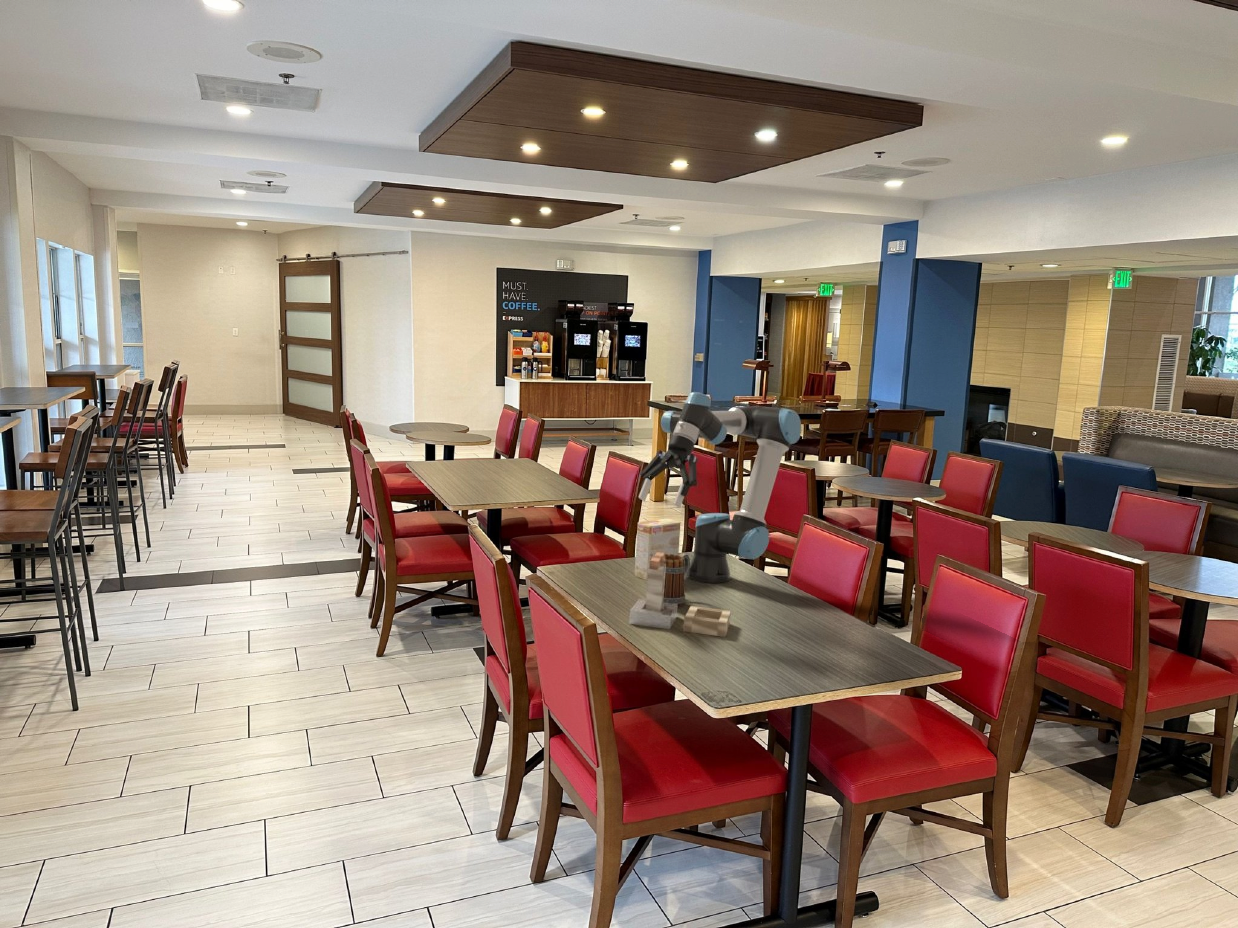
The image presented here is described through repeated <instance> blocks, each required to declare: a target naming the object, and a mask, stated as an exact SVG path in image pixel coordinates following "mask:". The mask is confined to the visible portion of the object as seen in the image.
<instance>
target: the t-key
mask: <svg viewBox="0 0 1238 928" xmlns="http://www.w3.org/2000/svg"><path fill="white" fill-rule="evenodd" d="M665 554H666V553H665V552H657V553H656V554H655V555H654V556H653V558H652V559H651V560H650V564H649V565H648V579H647V580H646V581H647V582H646V597H645V600H646V610H653V611H661V612H663V599H664V585H665V571H666V564H665V563H663V562H664V561H665Z"/></svg>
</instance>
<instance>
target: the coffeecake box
mask: <svg viewBox="0 0 1238 928" xmlns="http://www.w3.org/2000/svg"><path fill="white" fill-rule="evenodd" d="M681 523H682V522H680V521H678V520H674V519H671V518H662V519H655V520H650V521H649V520H647V521H639V522H637V526H636V527H637V528H636V532H637V533H636V546H635V547H636V549H635V563H634V577H637V578H640V579H642V580H644V581H647V579H648V565H649V564H650V560H651V559H652V558H653V556H654V555H655V554H656V553H657V552H665V553H666V554H668V555H670V554H674V555H680V554H679V553H680V552H679V550H680V538H681V537H680V535H681Z"/></svg>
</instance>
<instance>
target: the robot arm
mask: <svg viewBox="0 0 1238 928" xmlns="http://www.w3.org/2000/svg"><path fill="white" fill-rule="evenodd" d="M711 404H712V401H711V398H710V397H709V396H708V395H706V394H704V393H702V392H699V391H698V392H697V391H692V392H690V393H689V394H688V396H687V397H686V400H685V402H684V404H683V408H682V410H681V411H677V410H667V411H665V412H664V413H663V414H662V416H661V419H660V420H661V421H660V426H661V429H662V431H663V432H665V433H667V434H670V435H672V436H671V437H670V439H669V442H668V445H667V450H666V452H664V451H663V450H661V449H658V450H657V453H656V454H655V456H654V457H653V458H652V459H651V460H650V462H648V464H647V465H646V466H645V467H644V469H643V470H642V471H641V472H640V477H642V478H643V481H642V483H641V485H640V488H641V490H640V492H639V494H638V498H639V500H642V501H643V502H646V499H647V497H648V494H649V492H650V490H651V487H652V485H653V481H652V480H653V479H655V478H656V477H657V476H659V475H660V474H661V473H663V472H664V471H665V470H666V469H667V470H668V469H669V468H671V469H679V473H680V474H681V477H682V483H680V486H679V488H678V491H677V493H676V496H675V498H674V501H673V504H674V506H676V507H677V508H681V506H682V504H683V501H684V499H685V497H687V495H688V493H689V490H690V488H691V487H697V485H698V475H697V473H698V471H697V462H698V457H697V456H696V455H694V453H693V451H694V448H695V444H696V443H697V440H698V438H699V439H704V440H705V442H707V443H709V444H710V445H719V444H721V443H722V442H724V440H725V439H726V436H727V434H728V433H729V434H731V435H733V436H736V435H738V436H744V437H749V438H753V439H756V443H757V445H758V450H757V452H756V456H755V460H754V462H753V466H752V468H751V473H750V476H749V478H748V479H749V480H748V482H747V486H746V488H745V492H744V496H743V498H742V502H741V505H740V508H739V510H738V511H737V512H735V513H734V514H733V517H732V518H731V517H730V516H731V515H730V514H729V513H723V512H722V513H721V512H711V513H702V514H699V515H698V516H697V517H696V520H695V521H696V522H695V526H694V527H695V530H694V533H695V534H694V547H693V555H692V559H690V568H689V573H688V576H687V578H689V579H692V580H694V581H697V582H700V583H701V582H702V583H709V584H719V583H726V582H729V581H730V579H731V571H730V568H729V563H728V558H727V555H732V556H737V557H740V558H742V559H748V560H755V559H757V558H760V556H762V555H763V554H764V553H765V551H766V550H767V548H768V545H769V543H770V532H769V530H768V529H767V528H766V527H767V522H766V520H765V515H766V512H767V509H768V505H769V502H770V498H771V495H772V491H773V488H774V485H775V482H776V479H777V475H778V472H779V468H780V466H781V462H782V458H783V455H784V453H786V452H788V451H789V449H790V447H791V445H792V444H795V443H798V441H799V439H800V438H801V435H802V434H801V433H802V422H801V418H800V416H799V413H797V412H796V411H795V410H793V409H788V408H785V407H782V408H781V407H780V408H779V407H772V406H763V405H762V406H761V405H751V406H743V407H742V406H741V407H731V408H730V409H729V410H711V409H710V408H711ZM687 462H688V468H687V465H686V463H687ZM687 469H688V470H687Z"/></svg>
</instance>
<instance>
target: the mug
mask: <svg viewBox="0 0 1238 928" xmlns="http://www.w3.org/2000/svg"><path fill="white" fill-rule="evenodd" d="M663 563H665V564H666V571H665V585H664V599H663V602H666V603H673V604H678V607H677V608H680V607H682V606H683V605H685V601H686V594H685V583H686V581H687V579H688V573H689V568H690V563H691V558H690V556H689V554H687V553H680V554H678V555H674V554H670V555H668V554H665V561H664V562H663Z"/></svg>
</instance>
